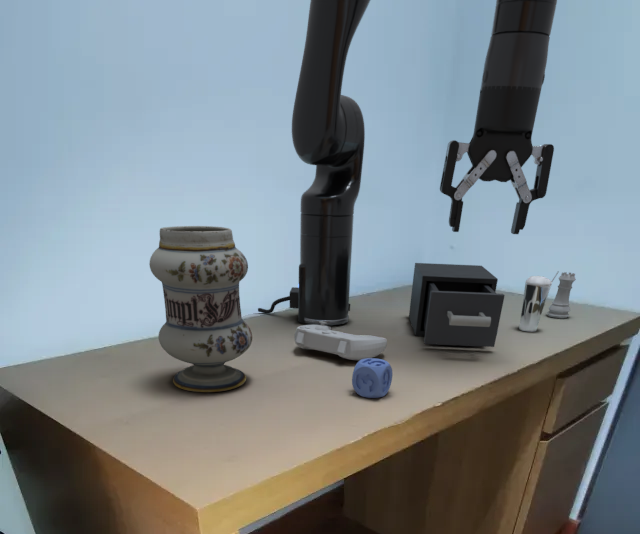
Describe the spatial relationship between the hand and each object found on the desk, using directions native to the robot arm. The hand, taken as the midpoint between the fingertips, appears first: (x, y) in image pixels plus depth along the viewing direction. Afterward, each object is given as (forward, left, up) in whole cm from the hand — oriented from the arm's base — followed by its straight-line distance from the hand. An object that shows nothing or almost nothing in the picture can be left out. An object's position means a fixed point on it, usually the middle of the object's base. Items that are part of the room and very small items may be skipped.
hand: (484, 232), depth 82 cm
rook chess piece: (+25, +32, -17) cm, 44 cm away
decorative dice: (-15, -21, -17) cm, 31 cm away
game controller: (-20, -3, -17) cm, 27 cm away
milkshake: (+16, +19, -17) cm, 30 cm away
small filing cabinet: (0, +18, -17) cm, 25 cm away
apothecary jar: (-37, -19, -17) cm, 45 cm away
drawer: (0, +6, -16) cm, 17 cm away
